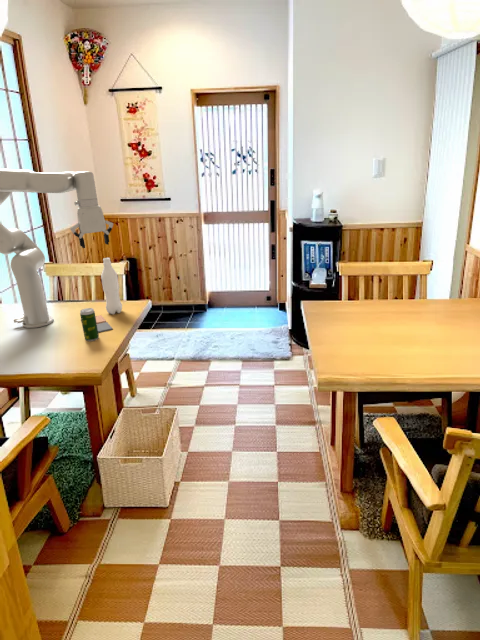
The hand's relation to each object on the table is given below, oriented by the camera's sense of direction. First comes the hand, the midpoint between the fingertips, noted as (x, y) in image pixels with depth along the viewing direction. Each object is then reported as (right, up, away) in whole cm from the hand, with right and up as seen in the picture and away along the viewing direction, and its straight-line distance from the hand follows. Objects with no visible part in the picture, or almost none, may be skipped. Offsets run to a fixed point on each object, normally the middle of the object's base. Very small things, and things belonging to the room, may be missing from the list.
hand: (95, 245), depth 192 cm
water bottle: (+3, -27, +19) cm, 34 cm away
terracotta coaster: (-4, -31, +10) cm, 33 cm away
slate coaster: (+1, -34, 0) cm, 34 cm away
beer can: (+2, -38, -10) cm, 40 cm away
